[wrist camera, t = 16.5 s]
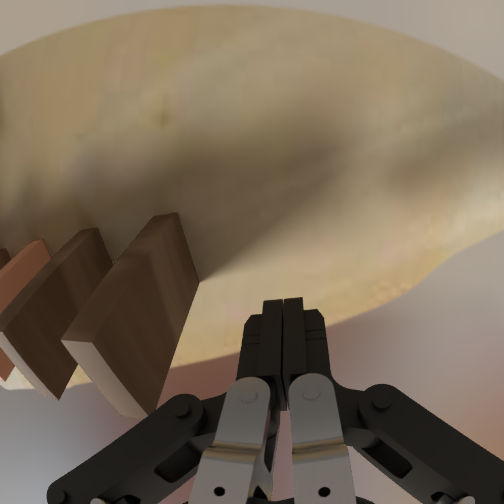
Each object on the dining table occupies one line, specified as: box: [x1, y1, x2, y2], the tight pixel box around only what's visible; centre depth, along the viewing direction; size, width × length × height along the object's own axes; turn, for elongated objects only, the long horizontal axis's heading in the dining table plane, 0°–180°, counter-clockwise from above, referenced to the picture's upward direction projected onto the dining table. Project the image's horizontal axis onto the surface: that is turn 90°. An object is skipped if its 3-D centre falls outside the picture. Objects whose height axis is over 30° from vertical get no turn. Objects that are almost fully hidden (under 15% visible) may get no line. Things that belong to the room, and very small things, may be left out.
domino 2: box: [0, 227, 113, 400], centre depth 15 cm, size 2×5×10 cm, turn 10°
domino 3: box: [61, 213, 199, 419], centre depth 14 cm, size 2×5×10 cm, turn 10°
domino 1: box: [0, 239, 51, 382], centre depth 16 cm, size 2×5×10 cm, turn 10°
